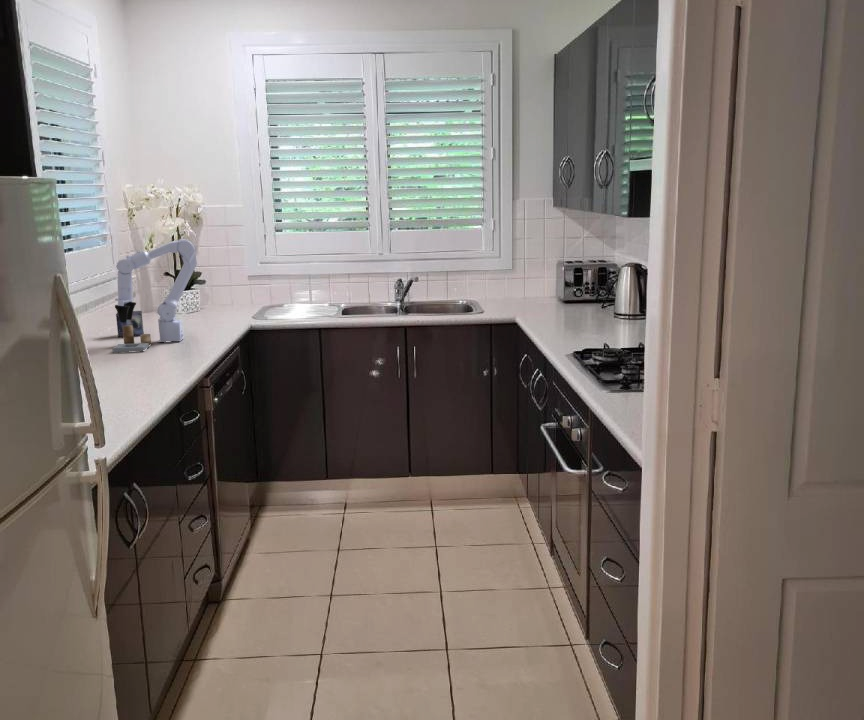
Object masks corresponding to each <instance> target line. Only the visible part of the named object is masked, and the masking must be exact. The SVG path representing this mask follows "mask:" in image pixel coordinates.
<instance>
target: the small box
mask: <svg viewBox="0 0 864 720" xmlns="http://www.w3.org/2000/svg"><path fill="white" fill-rule="evenodd" d="M115 318H116V327H117V329H116V330H117V337H118V338H123V328H122V326H125V325H132V326H133V335H134V337H140V335H142V334H145V331H144V322H143V310H133V314H132V319H131V320H127V321H126V323H122V322H120V318H119V314H118V312H116V313H115Z"/></svg>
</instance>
